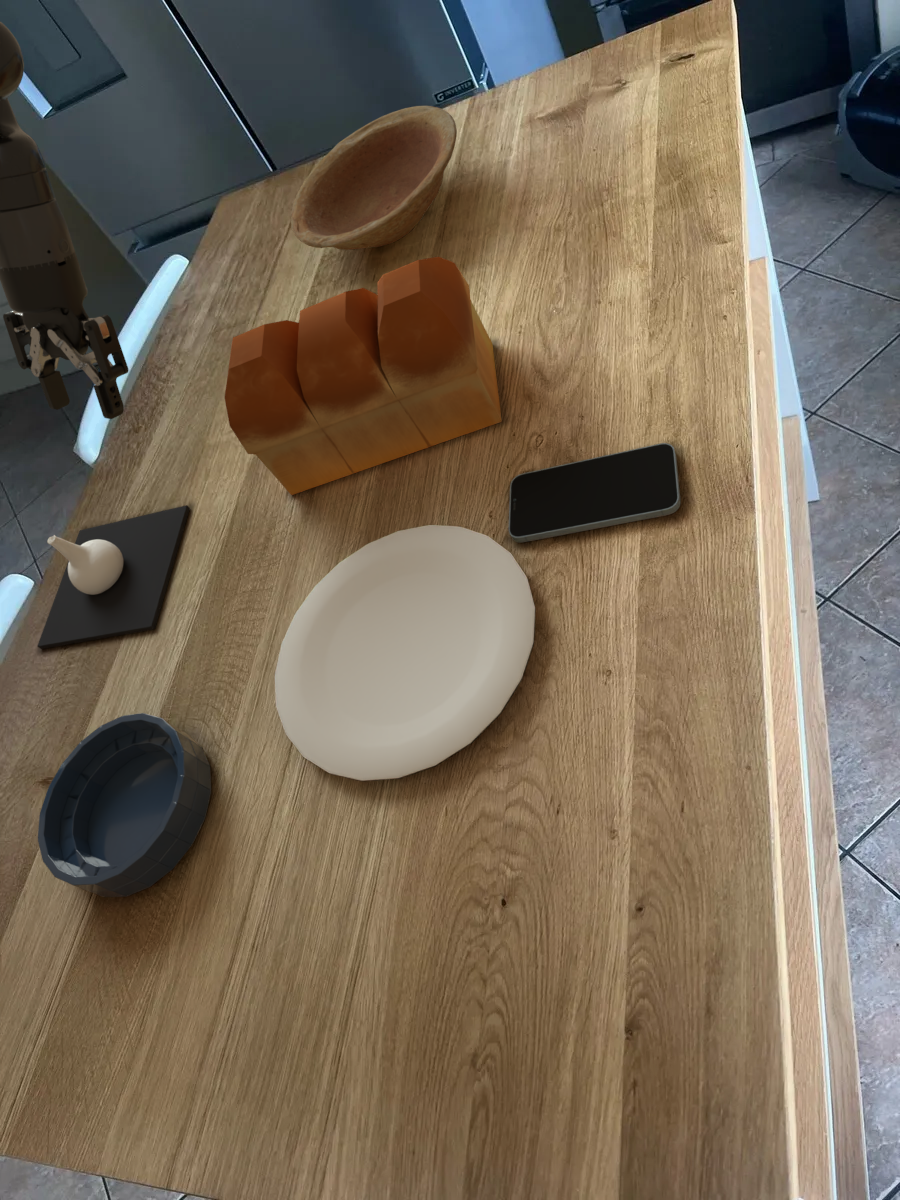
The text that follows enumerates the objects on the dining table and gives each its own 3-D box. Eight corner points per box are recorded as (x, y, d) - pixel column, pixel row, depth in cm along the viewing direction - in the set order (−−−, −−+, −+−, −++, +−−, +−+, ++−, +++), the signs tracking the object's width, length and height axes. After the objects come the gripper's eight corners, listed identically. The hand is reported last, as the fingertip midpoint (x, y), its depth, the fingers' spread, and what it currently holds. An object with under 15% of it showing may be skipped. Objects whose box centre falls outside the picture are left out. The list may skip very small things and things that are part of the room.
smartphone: (679, 507, 74) (508, 540, 80) (682, 514, 75) (511, 546, 80) (673, 440, 78) (510, 475, 84) (675, 446, 79) (513, 481, 84)
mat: (40, 649, 100) (36, 646, 100) (83, 532, 109) (79, 530, 108) (155, 629, 94) (151, 626, 94) (190, 508, 103) (186, 504, 102)
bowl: (334, 190, 128) (305, 139, 122) (490, 138, 118) (466, 80, 112) (298, 305, 116) (264, 255, 110) (468, 258, 106) (441, 200, 100)
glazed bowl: (53, 901, 81) (15, 887, 77) (101, 741, 89) (69, 722, 85) (192, 896, 75) (157, 881, 71) (231, 725, 83) (201, 705, 79)
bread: (287, 498, 97) (204, 405, 85) (293, 417, 104) (217, 320, 92) (506, 422, 89) (446, 308, 78) (495, 340, 96) (439, 225, 85)
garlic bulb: (137, 550, 101) (87, 508, 95) (115, 597, 99) (63, 557, 92) (97, 552, 104) (46, 512, 98) (75, 599, 101) (21, 560, 95)
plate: (353, 849, 71) (343, 843, 70) (245, 651, 87) (235, 642, 86) (600, 650, 71) (594, 640, 70) (447, 489, 87) (440, 478, 86)
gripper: (-45, 261, 88) (15, 417, 97) (51, 267, 82) (106, 433, 91) (19, 242, 93) (70, 392, 102) (113, 246, 87) (160, 405, 96)
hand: (87, 411), depth 97 cm, fingers open, 8 cm apart
